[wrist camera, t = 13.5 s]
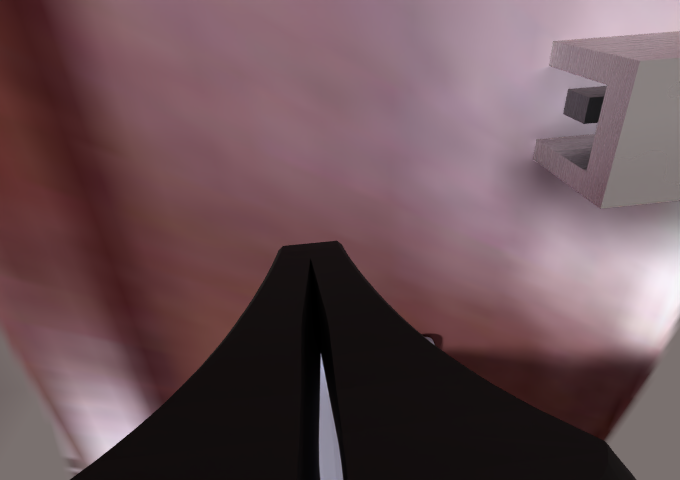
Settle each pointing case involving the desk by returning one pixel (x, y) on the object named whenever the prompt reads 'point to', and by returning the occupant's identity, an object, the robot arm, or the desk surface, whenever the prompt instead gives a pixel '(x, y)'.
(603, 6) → the desk surface
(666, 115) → the lock
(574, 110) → the coupler
